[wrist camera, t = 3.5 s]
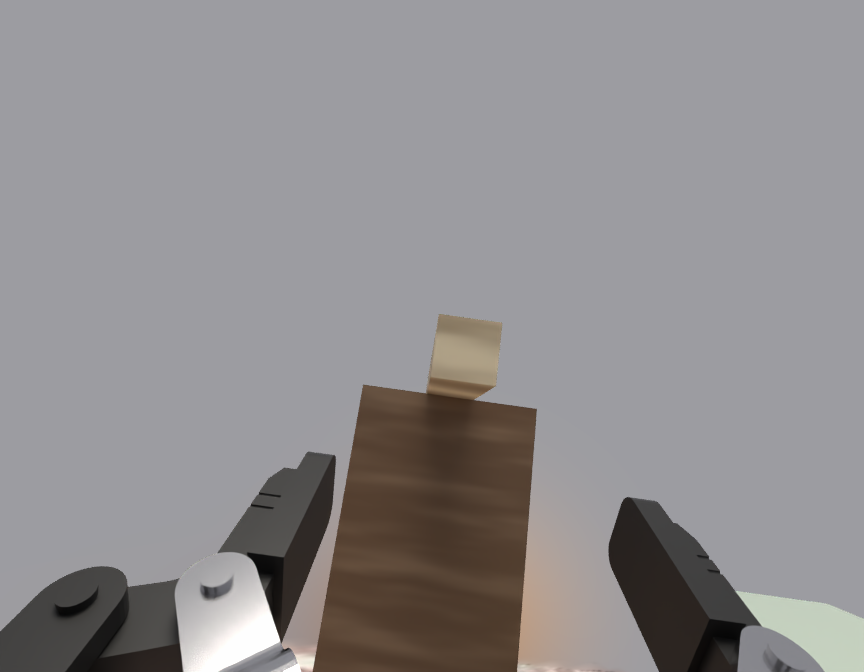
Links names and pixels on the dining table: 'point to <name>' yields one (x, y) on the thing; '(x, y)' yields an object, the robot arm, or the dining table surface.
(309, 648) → the dining table surface
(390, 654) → the walnut pillar
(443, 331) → the oak rod
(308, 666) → the dining table surface
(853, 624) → the sage pedestal
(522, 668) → the dining table surface
